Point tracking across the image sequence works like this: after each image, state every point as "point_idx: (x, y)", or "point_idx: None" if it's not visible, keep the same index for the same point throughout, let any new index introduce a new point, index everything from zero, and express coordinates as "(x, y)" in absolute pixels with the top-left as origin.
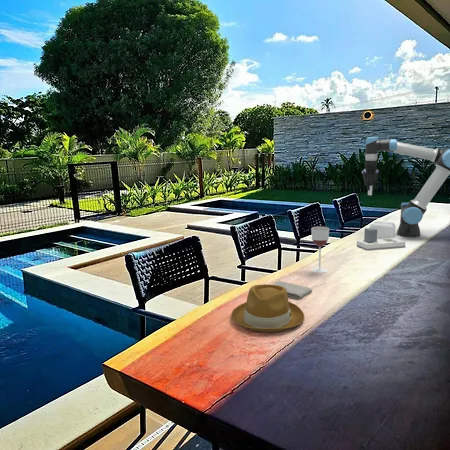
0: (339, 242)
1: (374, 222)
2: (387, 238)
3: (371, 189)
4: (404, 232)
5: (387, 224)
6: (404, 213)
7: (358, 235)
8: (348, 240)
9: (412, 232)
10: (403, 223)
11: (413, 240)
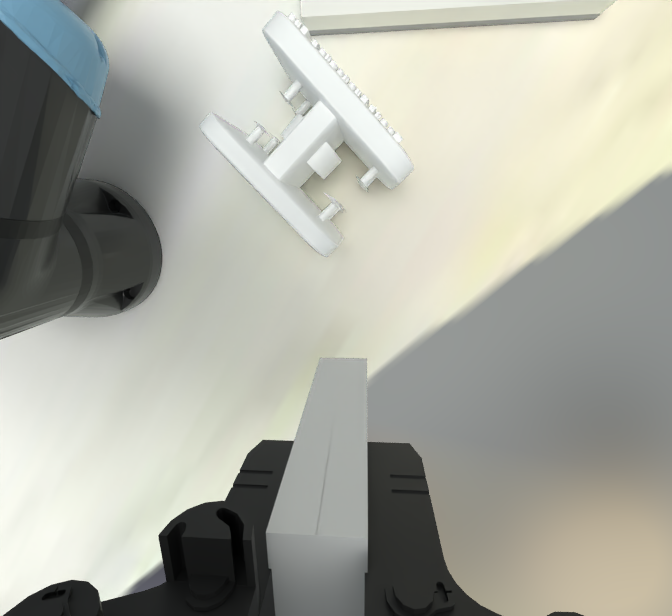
0: (631, 166)
1: (331, 238)
2: (354, 11)
3: (318, 432)
4: (128, 214)
5: (298, 62)
6: (63, 11)
7: (392, 322)
8: (536, 207)
9: (84, 183)
10: (86, 240)
11: (145, 81)
